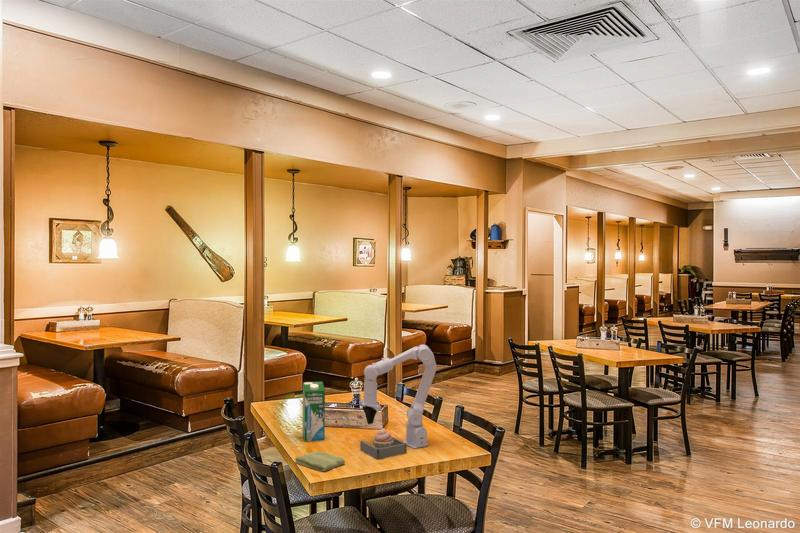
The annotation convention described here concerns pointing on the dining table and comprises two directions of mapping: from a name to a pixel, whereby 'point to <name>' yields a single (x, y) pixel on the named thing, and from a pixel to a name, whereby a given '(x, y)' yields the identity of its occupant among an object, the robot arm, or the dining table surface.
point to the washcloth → (320, 461)
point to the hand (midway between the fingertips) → (370, 423)
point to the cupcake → (382, 439)
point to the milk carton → (313, 411)
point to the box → (384, 449)
